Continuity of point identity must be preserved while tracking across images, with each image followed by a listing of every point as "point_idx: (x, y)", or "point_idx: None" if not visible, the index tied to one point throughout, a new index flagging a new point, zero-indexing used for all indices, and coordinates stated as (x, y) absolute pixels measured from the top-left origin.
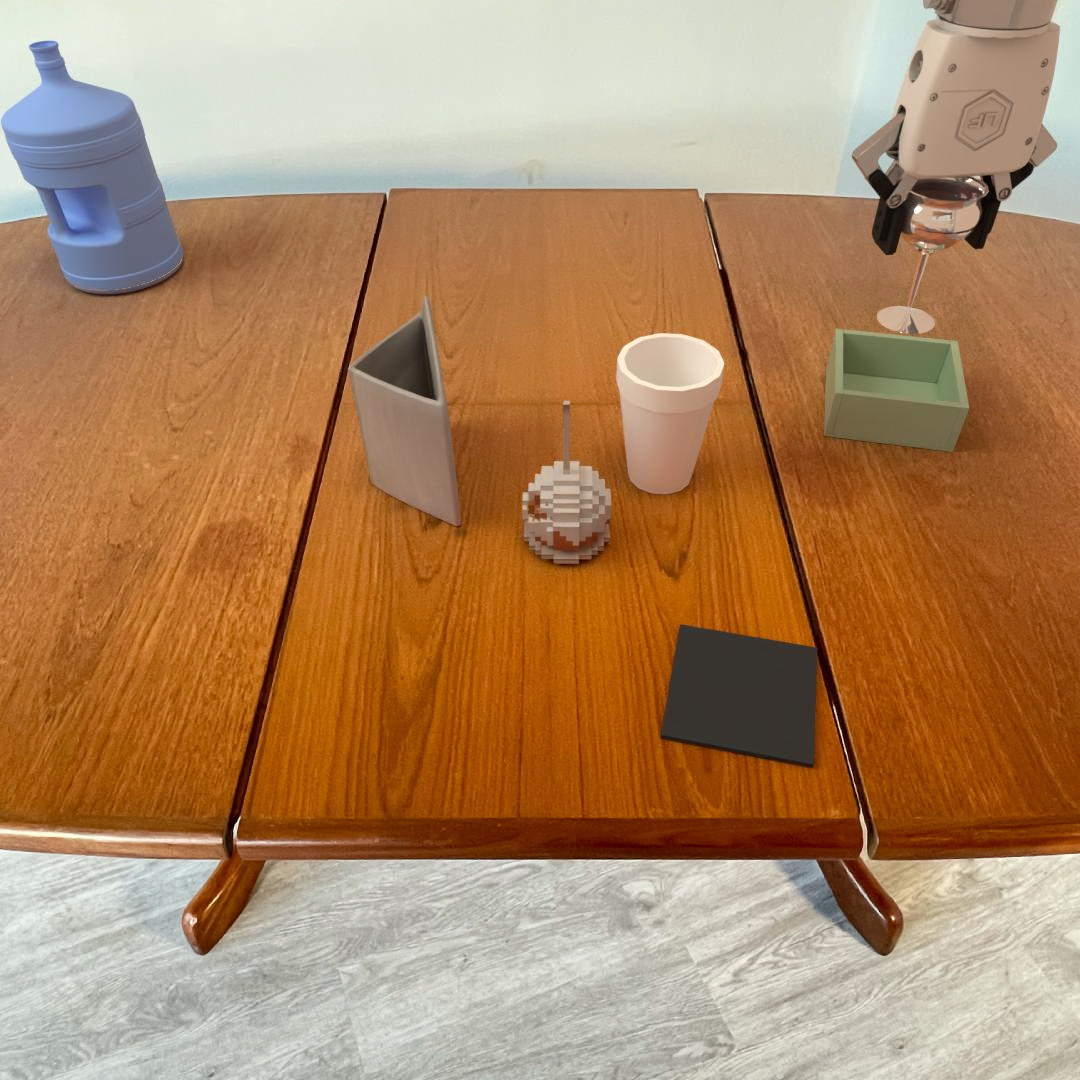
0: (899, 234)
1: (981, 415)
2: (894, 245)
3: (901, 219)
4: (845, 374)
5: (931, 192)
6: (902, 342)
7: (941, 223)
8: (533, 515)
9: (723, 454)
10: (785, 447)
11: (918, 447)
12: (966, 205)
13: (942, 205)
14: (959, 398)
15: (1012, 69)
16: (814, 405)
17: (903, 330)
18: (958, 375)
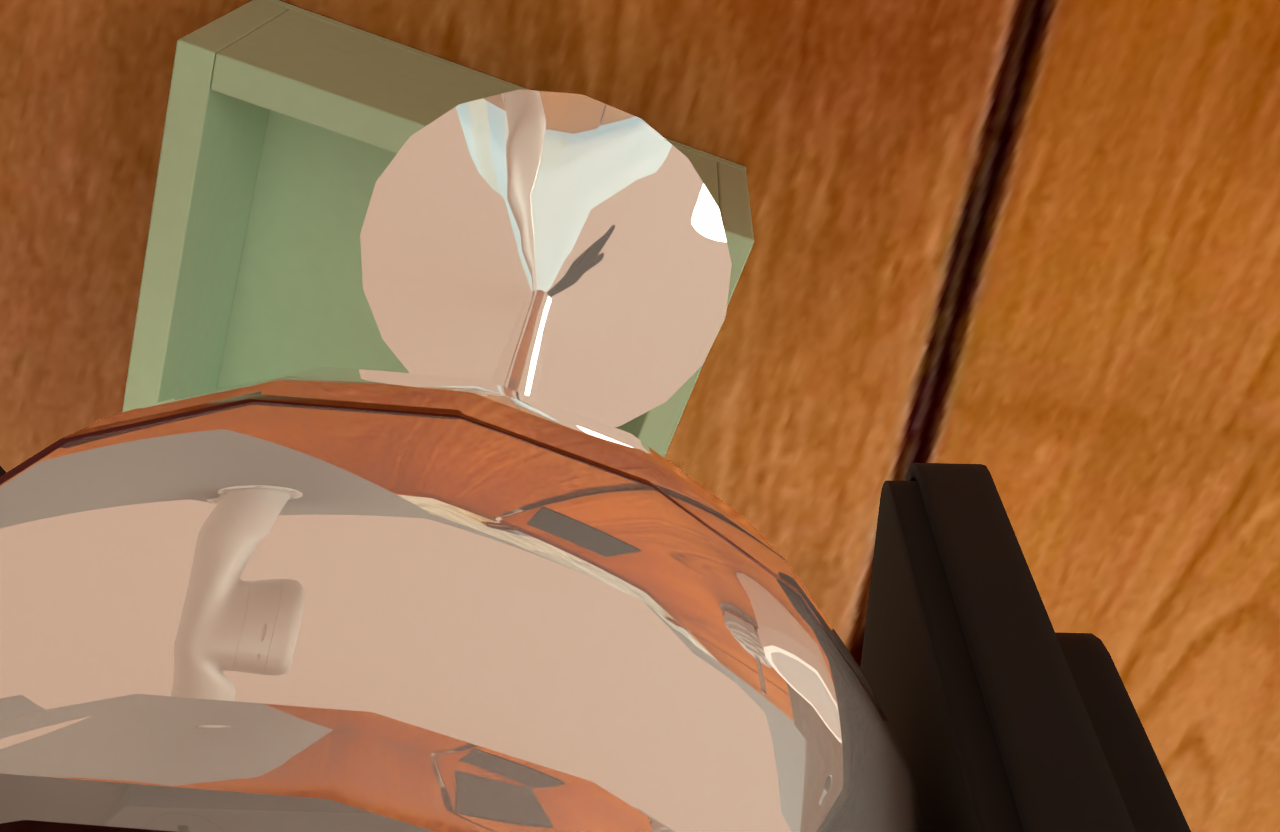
0: (940, 610)
1: (86, 215)
2: (954, 516)
3: (1034, 754)
4: None
5: None
6: None
7: (505, 525)
8: None
9: (1198, 103)
10: (928, 116)
11: (393, 41)
12: (8, 732)
13: (521, 791)
14: (204, 122)
15: None
16: (710, 357)
17: (617, 136)
18: (163, 292)
